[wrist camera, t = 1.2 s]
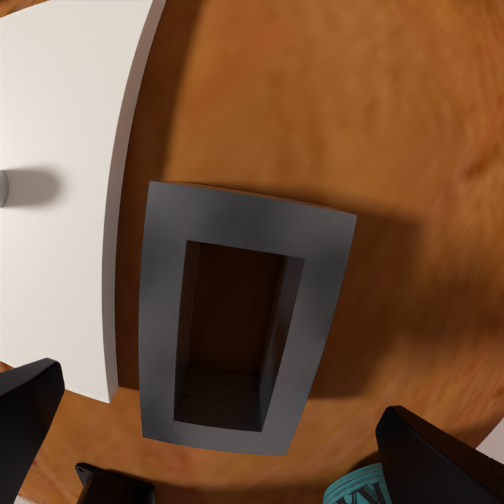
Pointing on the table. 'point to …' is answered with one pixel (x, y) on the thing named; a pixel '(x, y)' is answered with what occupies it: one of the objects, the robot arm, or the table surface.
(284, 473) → the table surface
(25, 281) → the keeper board
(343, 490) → the beverage bottle
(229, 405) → the steel link
